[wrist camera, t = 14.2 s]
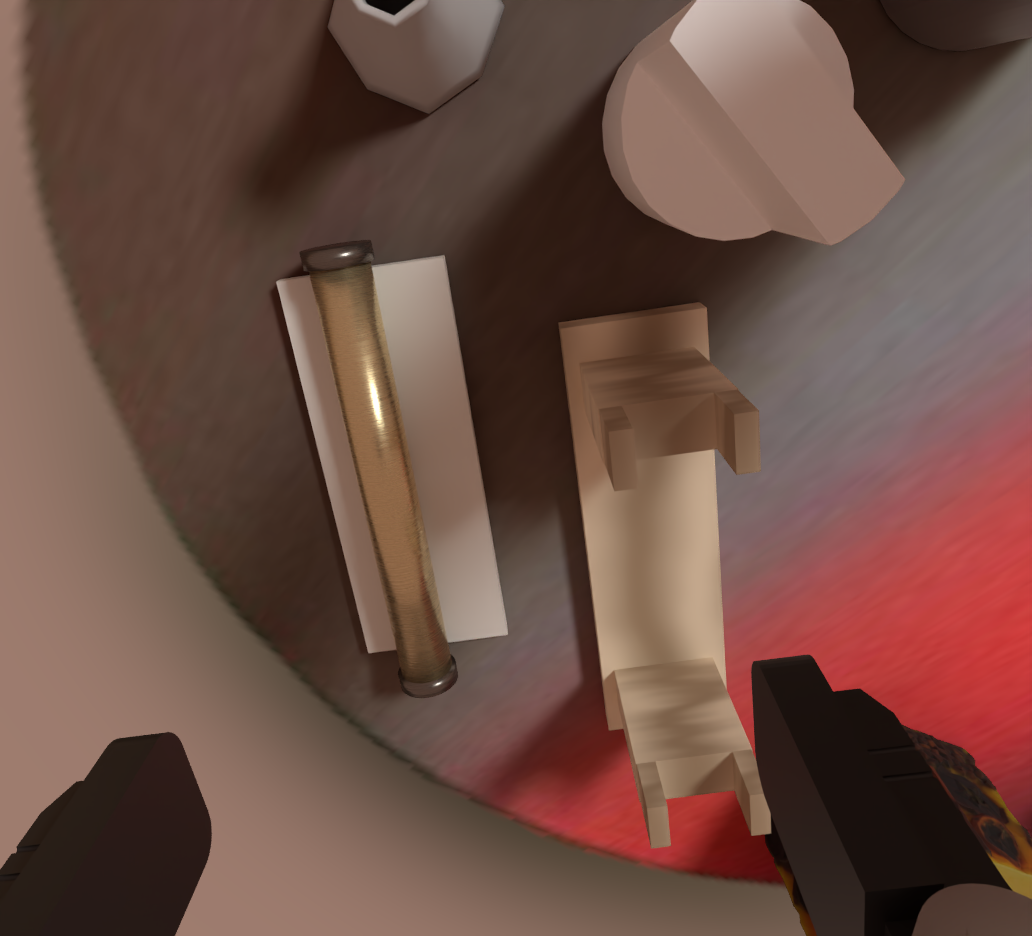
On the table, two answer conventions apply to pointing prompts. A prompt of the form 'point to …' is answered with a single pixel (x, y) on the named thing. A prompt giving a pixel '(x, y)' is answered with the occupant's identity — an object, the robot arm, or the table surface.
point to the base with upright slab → (745, 126)
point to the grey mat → (431, 441)
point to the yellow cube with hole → (976, 798)
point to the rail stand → (661, 547)
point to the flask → (416, 45)
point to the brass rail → (381, 460)
